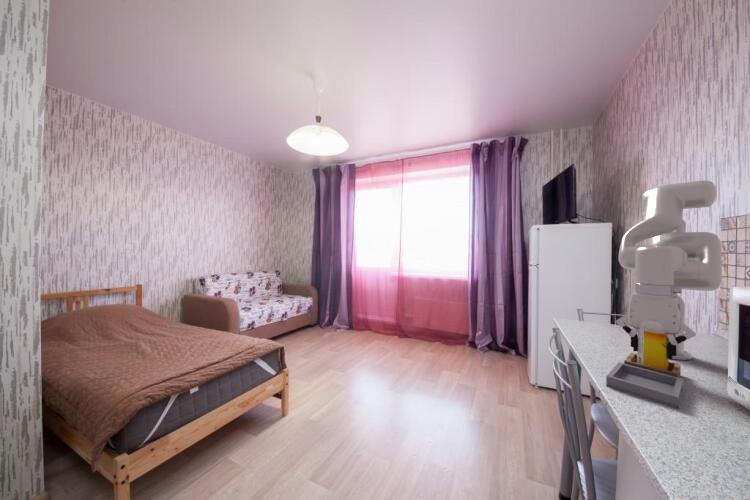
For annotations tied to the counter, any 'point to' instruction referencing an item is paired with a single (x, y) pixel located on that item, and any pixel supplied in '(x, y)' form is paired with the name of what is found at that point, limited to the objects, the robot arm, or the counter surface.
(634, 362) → the collar
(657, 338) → the beer can
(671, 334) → the robot arm
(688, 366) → the counter surface
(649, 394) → the tray
